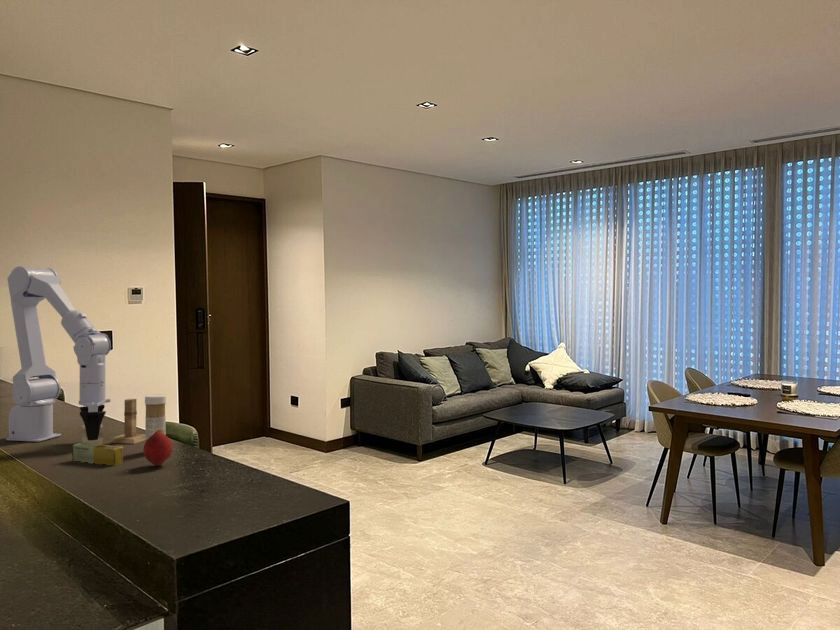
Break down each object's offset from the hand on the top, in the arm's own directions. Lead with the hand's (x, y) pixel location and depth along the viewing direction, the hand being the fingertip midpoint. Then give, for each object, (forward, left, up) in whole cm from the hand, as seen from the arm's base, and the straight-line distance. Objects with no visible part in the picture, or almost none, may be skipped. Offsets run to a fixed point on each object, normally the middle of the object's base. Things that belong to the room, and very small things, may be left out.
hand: (92, 437), depth 156 cm
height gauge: (+7, +5, -2) cm, 9 cm away
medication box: (+13, -16, -2) cm, 21 cm away
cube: (0, 0, -2) cm, 2 cm away
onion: (+28, -17, -2) cm, 33 cm away
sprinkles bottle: (+20, -5, -2) cm, 21 cm away
